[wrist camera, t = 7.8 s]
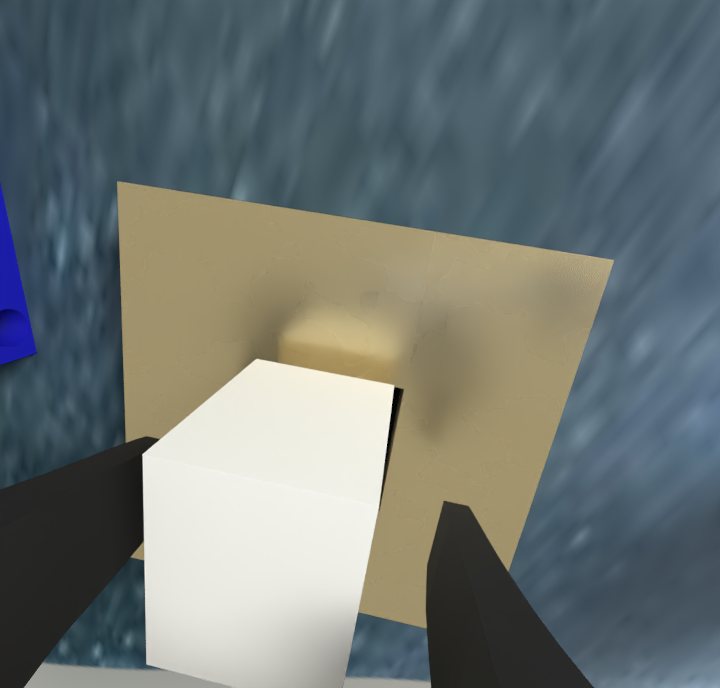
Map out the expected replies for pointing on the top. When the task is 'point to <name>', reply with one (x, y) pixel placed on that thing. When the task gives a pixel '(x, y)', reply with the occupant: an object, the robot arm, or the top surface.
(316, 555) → the plug
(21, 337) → the cable clip
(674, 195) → the top surface
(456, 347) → the socket plate
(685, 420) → the top surface
